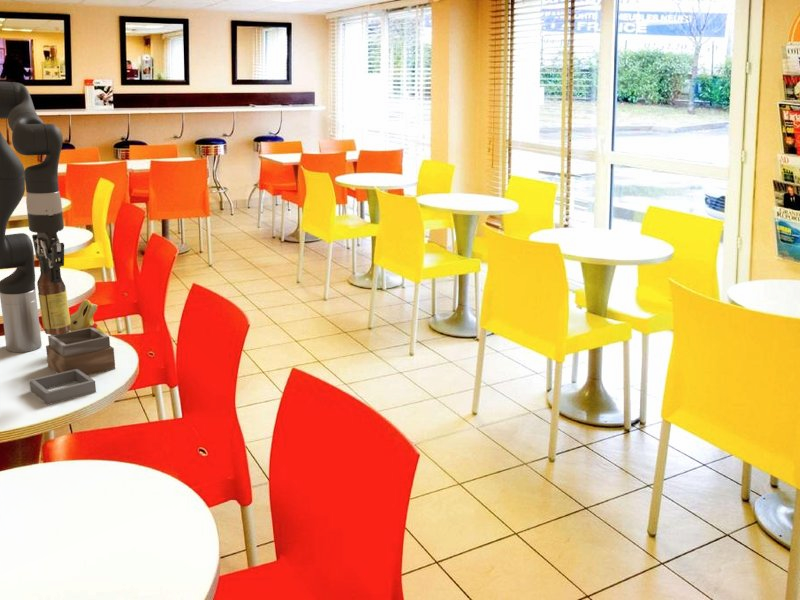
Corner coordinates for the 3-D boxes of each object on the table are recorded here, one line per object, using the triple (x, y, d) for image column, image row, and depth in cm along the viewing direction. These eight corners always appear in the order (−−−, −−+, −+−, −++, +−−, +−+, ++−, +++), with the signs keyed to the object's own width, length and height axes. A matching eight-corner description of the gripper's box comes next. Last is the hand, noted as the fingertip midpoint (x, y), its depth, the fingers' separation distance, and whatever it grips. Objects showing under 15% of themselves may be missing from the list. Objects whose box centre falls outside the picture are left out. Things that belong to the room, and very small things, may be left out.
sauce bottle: (76, 328, 193) (68, 251, 187) (63, 336, 187) (54, 257, 181) (51, 327, 193) (42, 250, 187) (37, 335, 187) (28, 255, 181)
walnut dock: (48, 366, 209) (44, 335, 207) (95, 355, 218) (92, 325, 216) (67, 380, 201) (63, 348, 198) (115, 368, 209) (112, 337, 207)
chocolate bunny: (70, 347, 224) (65, 298, 220) (110, 345, 227) (105, 296, 223) (66, 355, 218) (61, 304, 214) (107, 353, 221) (103, 303, 216)
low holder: (30, 391, 194) (29, 380, 193) (78, 379, 202) (77, 368, 201) (47, 404, 186) (46, 393, 185) (96, 392, 194) (95, 381, 193)
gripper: (17, 207, 183) (25, 276, 188) (39, 216, 174) (47, 289, 179) (49, 204, 188) (56, 271, 193) (73, 213, 179) (79, 284, 184)
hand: (51, 279), depth 186 cm, fingers closed on sauce bottle, 5 cm apart
